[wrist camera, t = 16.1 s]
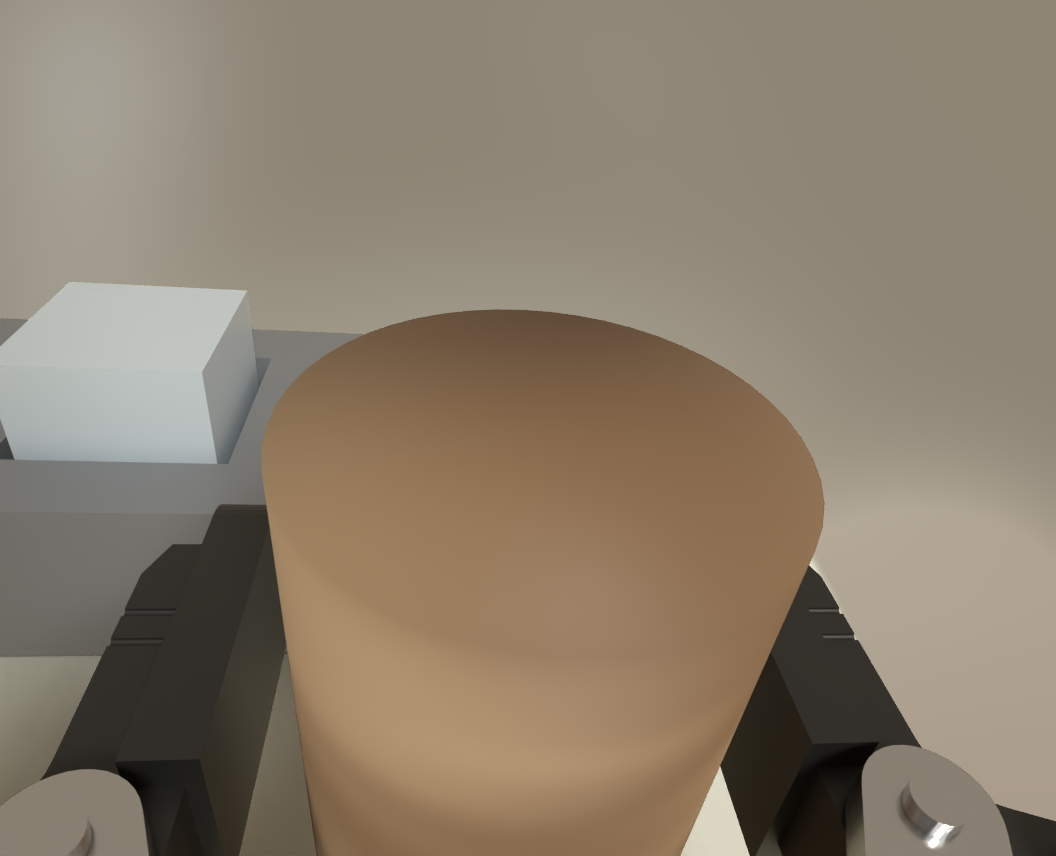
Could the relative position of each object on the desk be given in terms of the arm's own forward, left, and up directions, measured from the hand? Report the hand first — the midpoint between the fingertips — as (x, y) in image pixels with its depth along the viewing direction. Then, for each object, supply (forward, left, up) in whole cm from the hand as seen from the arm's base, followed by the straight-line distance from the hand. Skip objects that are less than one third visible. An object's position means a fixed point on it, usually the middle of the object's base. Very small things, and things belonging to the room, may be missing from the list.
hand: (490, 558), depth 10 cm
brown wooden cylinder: (0, -3, -10) cm, 10 cm away
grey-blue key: (-9, +12, -7) cm, 16 cm away
